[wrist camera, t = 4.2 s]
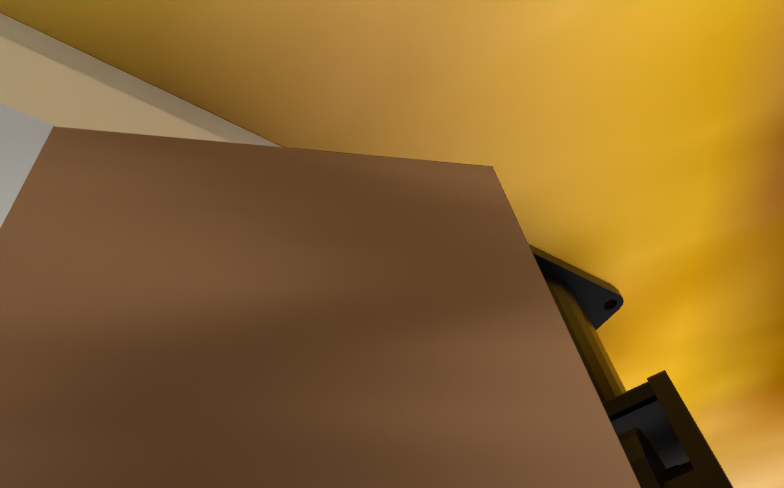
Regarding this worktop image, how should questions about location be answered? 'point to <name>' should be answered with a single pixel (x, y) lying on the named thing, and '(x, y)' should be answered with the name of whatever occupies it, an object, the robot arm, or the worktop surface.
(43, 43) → the tray
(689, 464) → the robot arm
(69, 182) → the walnut block
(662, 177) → the worktop surface
